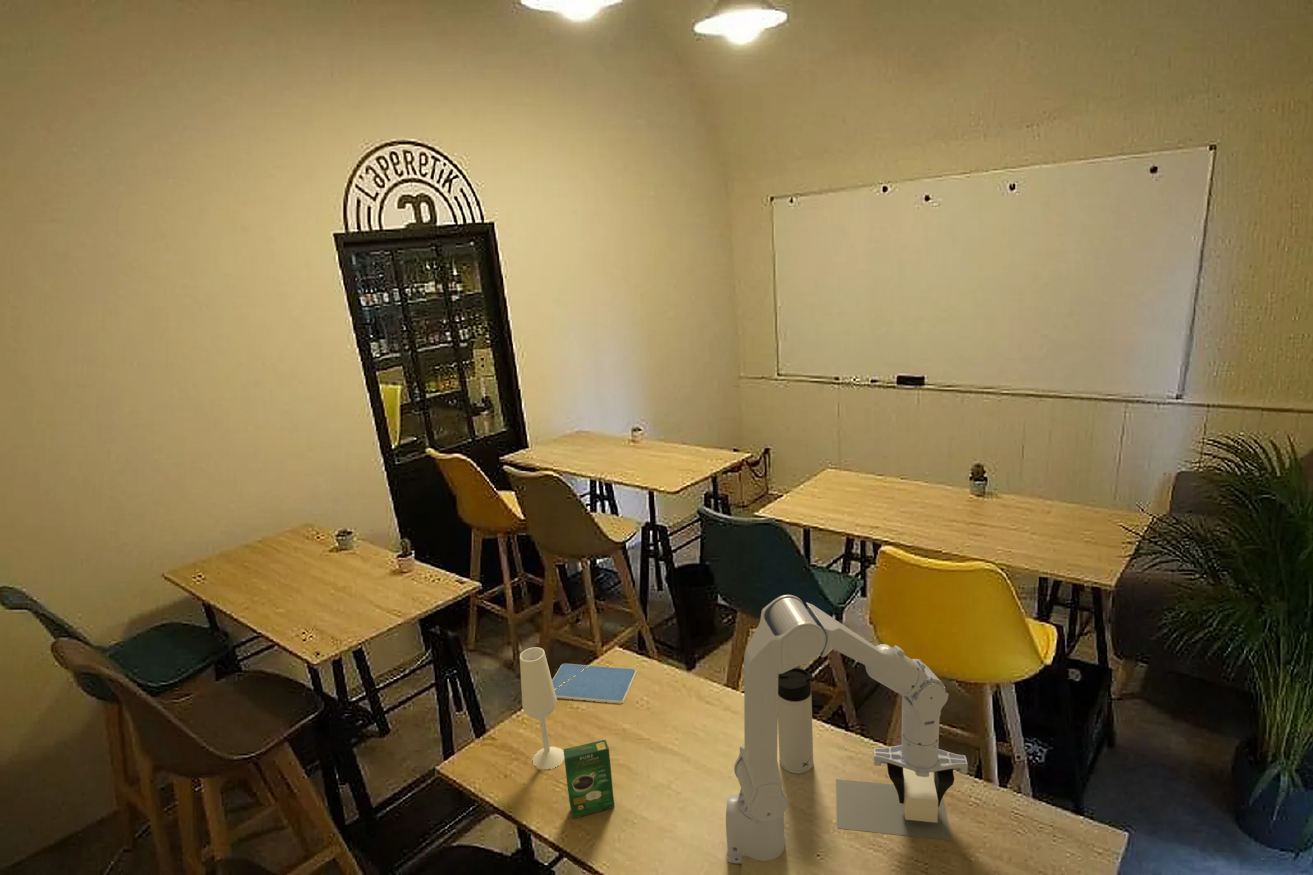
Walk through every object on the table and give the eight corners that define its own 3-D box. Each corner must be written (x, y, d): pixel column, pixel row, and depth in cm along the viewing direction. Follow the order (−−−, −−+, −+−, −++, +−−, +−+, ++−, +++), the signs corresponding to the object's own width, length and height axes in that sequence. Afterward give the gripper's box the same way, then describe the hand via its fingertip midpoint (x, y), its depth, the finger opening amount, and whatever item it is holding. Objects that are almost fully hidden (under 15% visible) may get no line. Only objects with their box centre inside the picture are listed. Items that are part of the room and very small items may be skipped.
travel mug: (815, 779, 129) (813, 687, 123) (779, 777, 130) (775, 685, 125) (815, 755, 135) (812, 665, 129) (780, 753, 136) (776, 664, 130)
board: (837, 832, 117) (836, 813, 116) (835, 783, 127) (835, 765, 126) (952, 845, 113) (952, 825, 112) (941, 793, 123) (941, 774, 122)
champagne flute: (526, 768, 138) (508, 663, 131) (539, 745, 144) (523, 643, 137) (557, 772, 136) (541, 665, 130) (569, 748, 142) (555, 645, 136)
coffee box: (613, 796, 129) (605, 737, 125) (616, 808, 126) (609, 747, 123) (570, 808, 127) (561, 748, 124) (572, 820, 125) (563, 759, 121)
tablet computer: (638, 672, 166) (638, 667, 166) (623, 706, 154) (623, 701, 154) (562, 667, 171) (561, 662, 171) (542, 700, 159) (542, 695, 159)
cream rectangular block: (905, 819, 116) (905, 797, 115) (900, 787, 122) (901, 766, 121) (937, 822, 115) (938, 800, 113) (931, 790, 121) (931, 769, 120)
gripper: (875, 747, 112) (875, 814, 116) (972, 754, 109) (969, 824, 113) (872, 717, 119) (872, 783, 123) (964, 724, 116) (961, 791, 119)
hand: (918, 800), depth 118 cm, fingers closed on cream rectangular block, 5 cm apart
